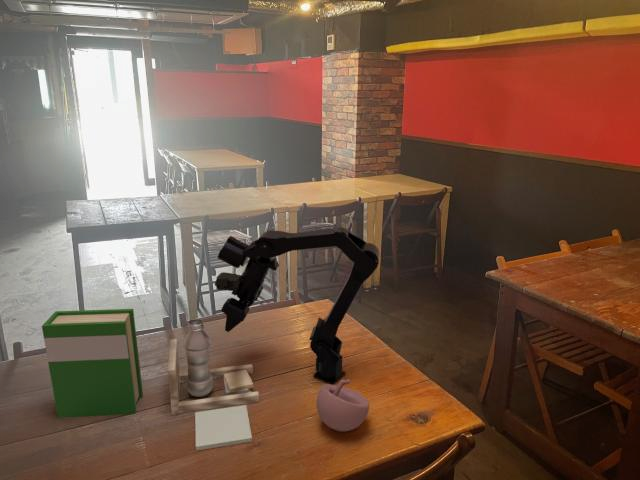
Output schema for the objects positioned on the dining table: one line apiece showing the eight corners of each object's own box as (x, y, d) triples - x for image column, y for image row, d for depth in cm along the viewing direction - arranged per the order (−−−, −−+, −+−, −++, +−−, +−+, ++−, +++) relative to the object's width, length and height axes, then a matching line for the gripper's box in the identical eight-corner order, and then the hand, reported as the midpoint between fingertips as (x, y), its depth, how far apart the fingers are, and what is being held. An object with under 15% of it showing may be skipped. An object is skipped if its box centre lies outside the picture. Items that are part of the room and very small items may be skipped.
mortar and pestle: (378, 425, 113) (381, 383, 110) (343, 451, 105) (344, 405, 102) (341, 402, 121) (342, 362, 118) (305, 424, 113) (305, 381, 110)
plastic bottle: (202, 382, 129) (197, 313, 123) (219, 392, 125) (215, 321, 119) (182, 393, 125) (176, 322, 119) (198, 403, 120) (193, 331, 114)
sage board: (246, 408, 119) (246, 405, 119) (252, 441, 108) (251, 437, 108) (195, 415, 116) (195, 412, 116) (196, 450, 105) (195, 446, 105)
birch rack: (252, 369, 135) (250, 330, 132) (259, 402, 121) (257, 359, 118) (174, 379, 130) (170, 339, 127) (171, 414, 116) (167, 370, 113)
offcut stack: (250, 378, 132) (249, 369, 131) (254, 396, 124) (253, 385, 124) (223, 382, 130) (223, 372, 129) (226, 400, 123) (225, 389, 122)
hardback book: (143, 395, 124) (133, 308, 116) (135, 413, 117) (124, 322, 109) (70, 398, 122) (55, 311, 115) (58, 418, 115) (41, 325, 108)
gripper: (236, 250, 136) (217, 296, 141) (213, 274, 118) (192, 325, 123) (272, 268, 136) (251, 313, 141) (255, 295, 118) (231, 345, 123)
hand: (232, 323), depth 132 cm, fingers open, 9 cm apart
